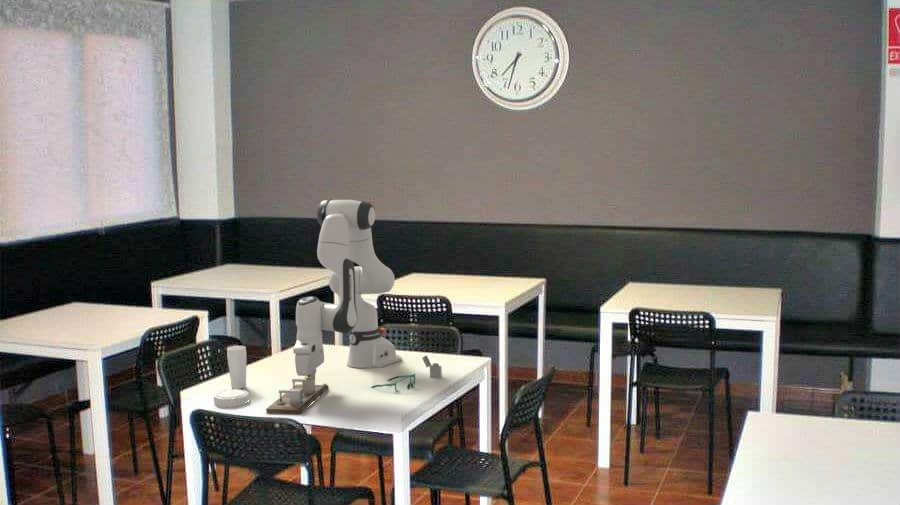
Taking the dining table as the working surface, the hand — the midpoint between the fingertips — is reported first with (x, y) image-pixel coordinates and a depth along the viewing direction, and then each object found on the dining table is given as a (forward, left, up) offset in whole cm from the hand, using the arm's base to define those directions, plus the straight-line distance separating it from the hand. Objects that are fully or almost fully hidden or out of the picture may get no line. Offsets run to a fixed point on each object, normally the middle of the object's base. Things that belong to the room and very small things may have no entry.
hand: (311, 381), depth 350 cm
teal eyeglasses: (-26, +15, -5) cm, 31 cm away
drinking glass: (+11, -29, -5) cm, 32 cm away
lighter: (-44, +16, -5) cm, 47 cm away
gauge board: (+7, +2, -5) cm, 9 cm away
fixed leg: (+7, +3, -3) cm, 8 cm away
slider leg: (+4, 0, -3) cm, 5 cm away
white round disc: (+23, -15, -5) cm, 28 cm away
